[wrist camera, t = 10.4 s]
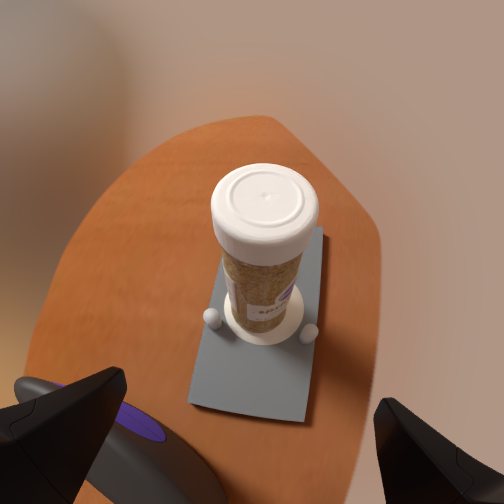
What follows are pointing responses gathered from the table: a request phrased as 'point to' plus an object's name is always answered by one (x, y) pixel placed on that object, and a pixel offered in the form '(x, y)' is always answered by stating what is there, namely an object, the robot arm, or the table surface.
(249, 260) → the sprinkles bottle
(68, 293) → the table surface
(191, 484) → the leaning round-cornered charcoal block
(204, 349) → the pin board
